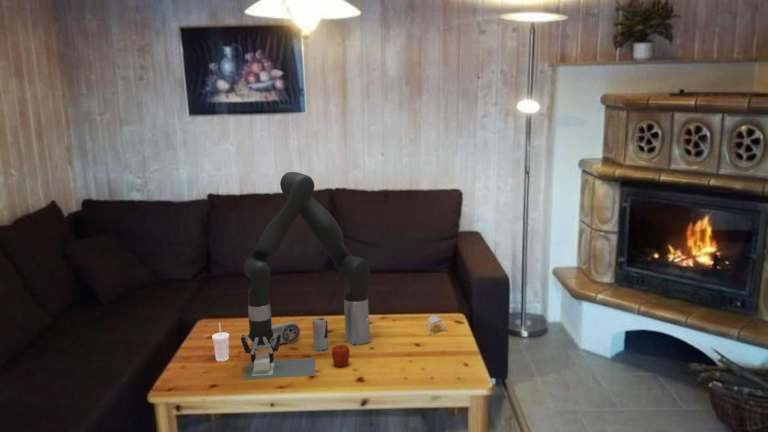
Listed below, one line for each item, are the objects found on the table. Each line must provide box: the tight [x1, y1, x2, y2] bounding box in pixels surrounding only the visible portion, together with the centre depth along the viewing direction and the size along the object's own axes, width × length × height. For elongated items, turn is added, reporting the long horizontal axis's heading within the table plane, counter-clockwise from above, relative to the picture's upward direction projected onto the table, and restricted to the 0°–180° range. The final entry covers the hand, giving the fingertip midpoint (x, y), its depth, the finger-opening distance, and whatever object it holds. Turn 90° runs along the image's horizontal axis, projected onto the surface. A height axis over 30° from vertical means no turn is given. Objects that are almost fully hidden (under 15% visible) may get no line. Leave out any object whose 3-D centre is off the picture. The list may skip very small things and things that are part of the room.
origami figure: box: [424, 314, 447, 336], centre depth 247 cm, size 12×8×5 cm
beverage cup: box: [211, 322, 230, 362], centre depth 223 cm, size 6×6×14 cm
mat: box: [243, 357, 316, 381], centre depth 214 cm, size 24×14×1 cm, turn 96°
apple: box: [331, 344, 350, 368], centre depth 215 cm, size 6×6×8 cm
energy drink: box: [312, 317, 329, 353], centre depth 229 cm, size 5×5×12 cm
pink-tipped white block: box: [254, 351, 271, 371], centre depth 213 cm, size 8×5×3 cm, turn 6°
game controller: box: [250, 321, 301, 351], centre depth 234 cm, size 20×2×8 cm, turn 123°
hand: (262, 362), depth 213 cm, fingers closed on pink-tipped white block, 5 cm apart
